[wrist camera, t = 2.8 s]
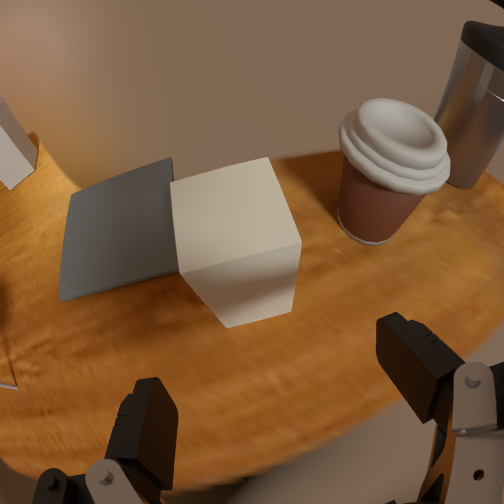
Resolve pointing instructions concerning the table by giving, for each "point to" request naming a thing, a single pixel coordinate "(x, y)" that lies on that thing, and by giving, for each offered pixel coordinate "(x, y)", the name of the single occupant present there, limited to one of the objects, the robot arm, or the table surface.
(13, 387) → the lollipop
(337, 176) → the table surface
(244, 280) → the block
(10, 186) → the milk carton
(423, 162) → the coffee cup
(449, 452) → the robot arm
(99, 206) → the mat
